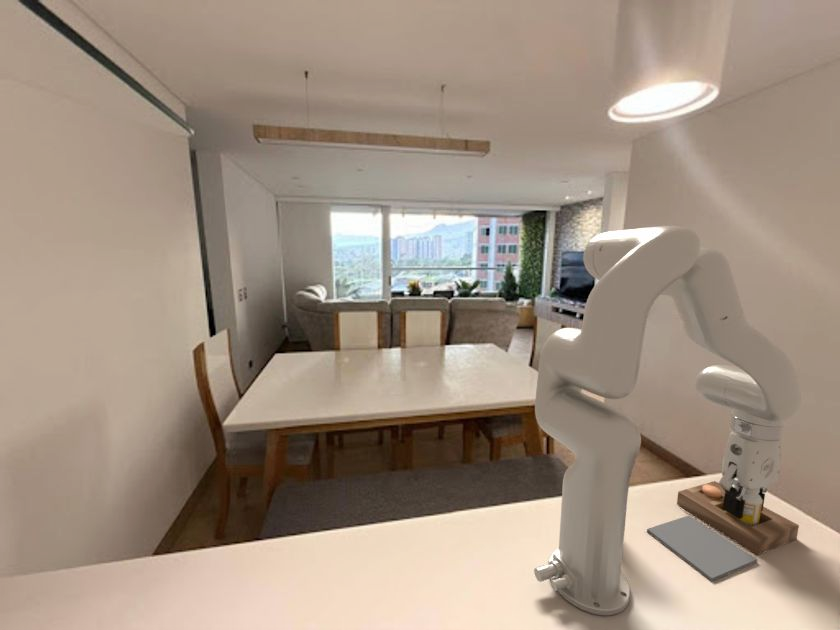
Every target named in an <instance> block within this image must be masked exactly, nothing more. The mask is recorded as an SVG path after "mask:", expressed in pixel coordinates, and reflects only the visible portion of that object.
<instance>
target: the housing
mask: <svg viewBox="0 0 840 630" xmlns="http://www.w3.org/2000/svg"><path fill="white" fill-rule="evenodd" d="M703 485H711V486H714V487H716V488H718V489H719V490H720V491H721V497H720V498H719V499H718V500H715V501H714V500H712V499H711V498H709V497H707V496H705V495H704V493H703V492H702V488H703ZM724 496H725V492H724V489H723V487H722V486H721V485H720V484H719V482H718V481H715V480H714V481H711V482H705V483H702V484H700V485H696V486H693V487H690V488H686V489H682V490H679V491H678V492H677V501H676V505H678V506H679V507H681V508H683V509H684V510H686V511H687V512H689V513H690V514H692V515H694V516H695V517H697V518H698V519H699V520H702V522H704V523H706V524H708V525H709V526H711V527H712V528H714V529H716V530H717V531H719V532H721V533H722V534H724V535H725V536H726V537H728V538H730V540H733V541H735V543H738V545H741V546H742V547H744V548H746V549H747V550H748V551H750V552H751V553H752V554H755V555H756V556H759V555H760V554H764V553H767V552H768V551H771V550H773V549H776V548H778V547H781V546H783V545H785V544H787V543H791V542H792V541H796V540H797V538H798V535H799V534H798V532H799V527H800V525H799V524H797V523H796V522H794V521H792V520H789V519H788V518H786V517H784V516H782V515H780V514H778V513H777V512H775V511H773V510H771V509H769V508H767V507H765V506H763V511H761V514H760V520H759V524H758V525H756V526H753V527H751V526H749V525H747V524H746V523H744V522H742V521H741V520H739V519H737V518H735V517H734V516H732V515H730V514H729V513H727V512H725V510H724V509H723V503H724Z"/></svg>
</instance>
